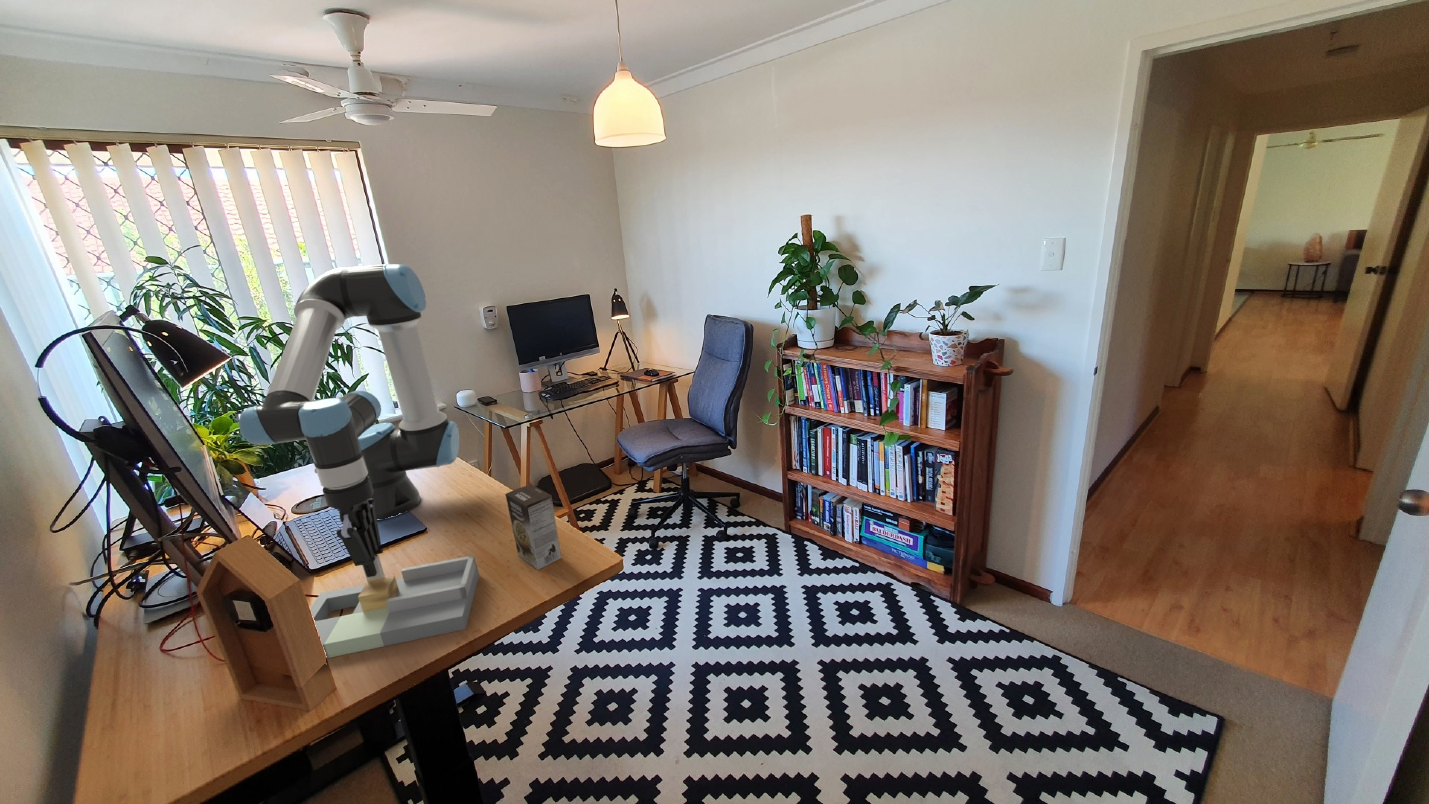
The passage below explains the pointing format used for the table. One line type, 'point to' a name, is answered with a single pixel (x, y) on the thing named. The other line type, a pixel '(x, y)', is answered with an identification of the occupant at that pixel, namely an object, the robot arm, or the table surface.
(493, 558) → the table surface
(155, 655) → the table surface
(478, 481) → the table surface
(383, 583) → the ochre block
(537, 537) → the coffee box
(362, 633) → the tray
